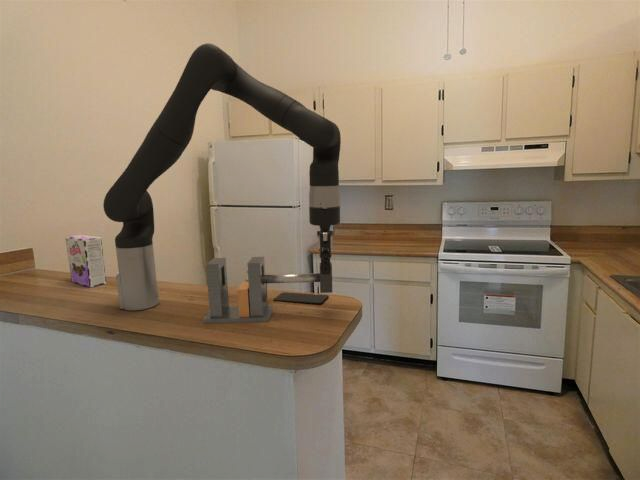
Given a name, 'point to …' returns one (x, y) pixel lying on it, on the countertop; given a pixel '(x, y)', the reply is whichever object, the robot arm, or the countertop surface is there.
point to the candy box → (86, 260)
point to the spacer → (244, 300)
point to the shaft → (303, 279)
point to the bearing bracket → (220, 299)
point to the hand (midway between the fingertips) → (325, 269)
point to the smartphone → (301, 298)
